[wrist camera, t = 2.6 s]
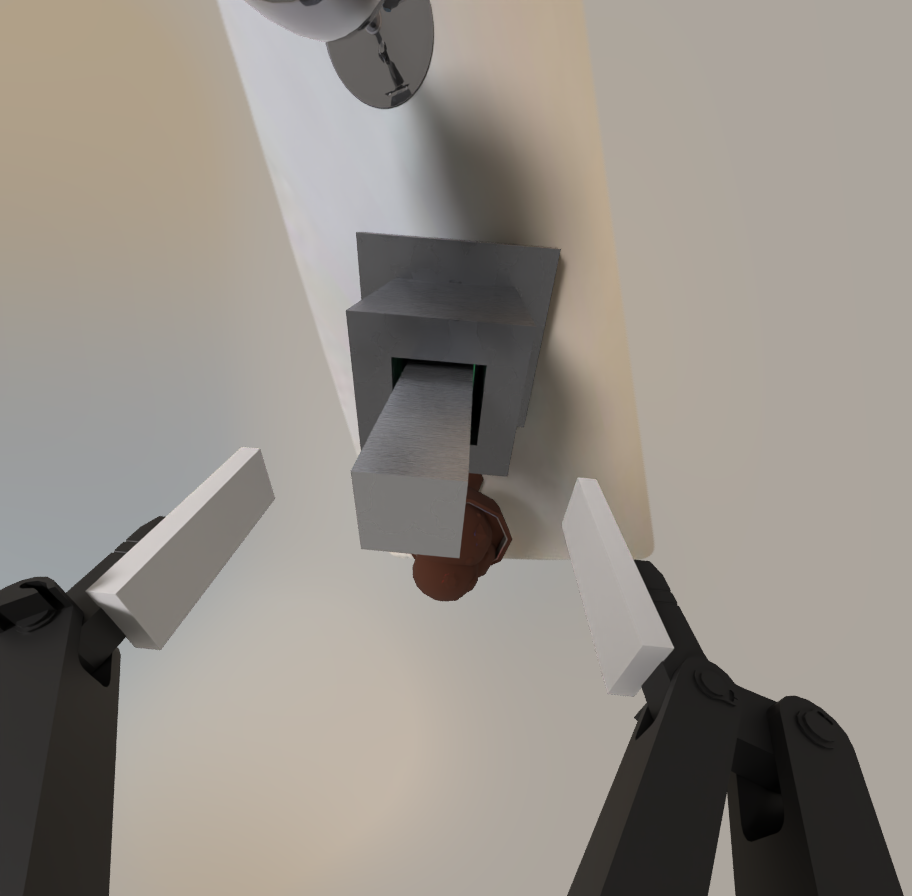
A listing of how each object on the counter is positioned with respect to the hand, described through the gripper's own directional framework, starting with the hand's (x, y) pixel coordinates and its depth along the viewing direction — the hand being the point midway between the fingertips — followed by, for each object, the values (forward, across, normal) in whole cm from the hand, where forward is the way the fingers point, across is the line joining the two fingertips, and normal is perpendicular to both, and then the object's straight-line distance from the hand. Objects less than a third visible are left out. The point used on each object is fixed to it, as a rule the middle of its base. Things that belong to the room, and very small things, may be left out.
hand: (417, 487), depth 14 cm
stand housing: (+22, 0, 0) cm, 22 cm away
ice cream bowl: (+22, +2, -17) cm, 27 cm away
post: (+19, 0, 0) cm, 19 cm away
